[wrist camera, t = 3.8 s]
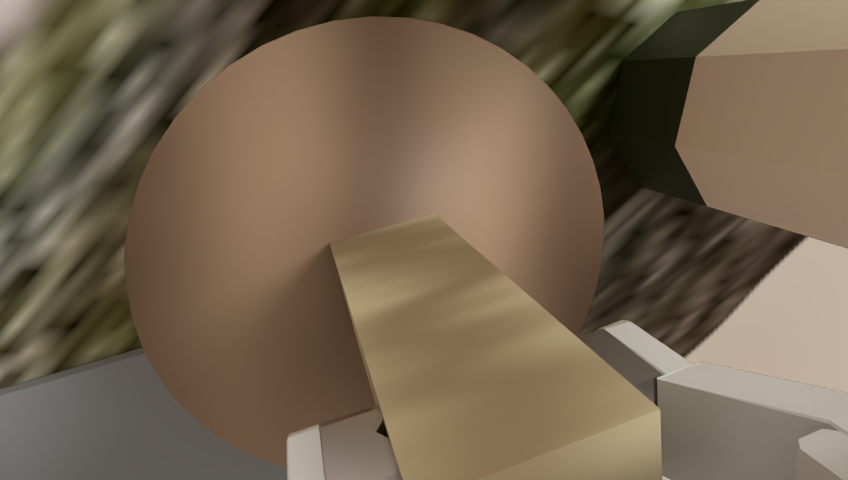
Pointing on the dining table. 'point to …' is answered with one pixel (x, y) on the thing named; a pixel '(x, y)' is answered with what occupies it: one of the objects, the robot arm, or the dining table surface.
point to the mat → (113, 429)
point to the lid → (385, 258)
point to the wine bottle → (744, 112)
